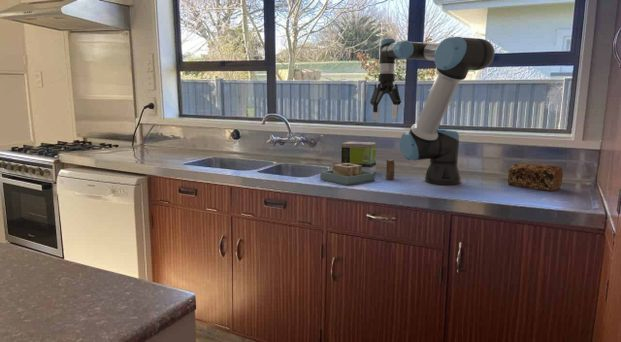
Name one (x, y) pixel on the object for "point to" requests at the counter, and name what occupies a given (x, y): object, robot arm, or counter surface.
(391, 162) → the post
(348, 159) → the tea box
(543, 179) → the bread
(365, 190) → the counter surface
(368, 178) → the tray
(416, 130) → the robot arm
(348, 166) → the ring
